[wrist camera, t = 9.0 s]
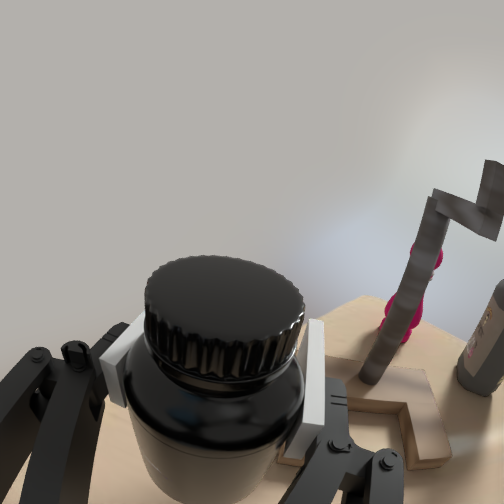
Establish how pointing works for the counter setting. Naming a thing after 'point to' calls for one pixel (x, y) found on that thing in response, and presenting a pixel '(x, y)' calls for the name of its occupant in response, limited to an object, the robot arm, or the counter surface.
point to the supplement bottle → (214, 376)
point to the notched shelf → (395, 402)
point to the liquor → (485, 349)
